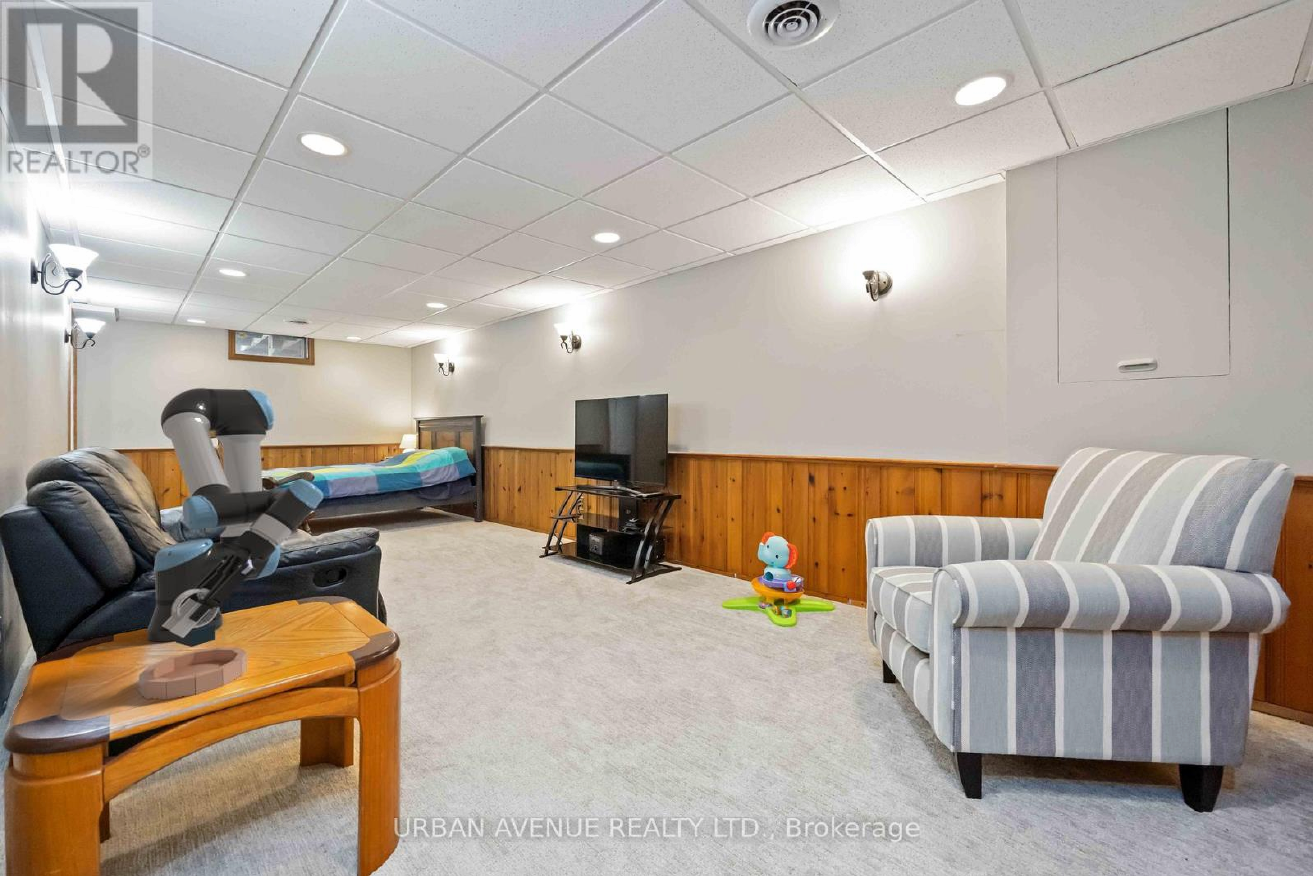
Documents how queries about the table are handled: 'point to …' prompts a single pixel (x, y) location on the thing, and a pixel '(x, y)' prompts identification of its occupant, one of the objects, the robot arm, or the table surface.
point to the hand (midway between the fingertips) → (172, 631)
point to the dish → (192, 672)
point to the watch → (202, 629)
